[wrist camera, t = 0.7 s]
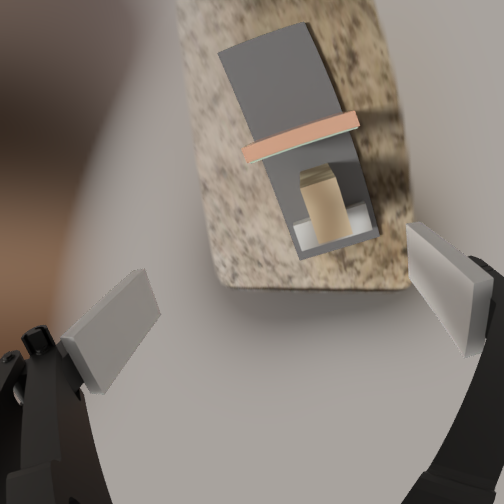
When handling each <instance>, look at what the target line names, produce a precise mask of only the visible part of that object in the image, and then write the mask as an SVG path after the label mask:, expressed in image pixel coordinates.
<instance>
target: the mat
mask: <svg viewBox="0 0 504 504" xmlns="http://www.w3.org/2000/svg"><path fill="white" fill-rule="evenodd" d="M218 56H219V58H220V60H221V63H222V65H223V67H224V69H225V72H226V74H227V76H228V79H229V81H230V83H231V86H232V88H233V90H234V93H235V95H236V97H237V100H238V102H239V105H240V107H241V109H242V112H243V114H244V117H245V119H246V122H247V124H248V126H249V129H250V131H251V134H252V136H253V139H254V141H256V140H259V139H261V138H264V137H267V136H270V135H272V134H275V133H278V132H281V131H284V130H286V129H289V128H292V127H295V126H298V125H301V124H304V123H307V122H310V121H313V120H316V119H320V118H323V117H326V116H329V115H332V114H336V113H339V112H342V110H341V107H340V104H339V102H338V99H337V97H336V94H335V91H334V89H333V86H332V84H331V81H330V79H329V76H328V74H327V72H326V69H325V67H324V65H323V62H322V60H321V58H320V55H319V53H318V51H317V48H316V46H315V44H314V42H313V40H312V38H311V35H310V33H309V31H308V29H307V27H306V25H305V23H304V22H301V23H298V24H294V25H291V26H288V27H285V28H282V29H279V30H276V31H273V32H270V33H267V34H264V35H261V36H259V37H256V38H253V39H251V40H248V41H245V42H243V43H240V44H238V45H235V46H233V47H231V48H228V49H226V50H223V51H221V52H219V53H218ZM262 161H263V164H264V166H265V169H266V171H267V174H268V177H269V179H270V182H271V184H272V187H273V190H274V192H275V195H276V197H277V200H278V203H279V205H280V208H281V211H282V213H283V216H284V219H285V221H286V224H287V227H288V229H289V232H290V235H291V238H292V240H293V243H294V246H295V249H296V251H297V254H298V257H299V260H303V259H306V258H310V257H313V256H317V255H320V254H323V253H327V252H330V251H333V250H337V249H340V248H343V247H347V246H350V245H353V244H356V243H360V242H363V241H366V240H370V239H373V238H376V237H379V236H380V235H379V231H378V227H377V223H376V219H375V215H374V211H373V207H372V204H371V200H370V196H369V193H368V189H367V186H366V182H365V179H364V176H363V172H362V169H361V166H360V163H359V159H358V156H357V153H356V150H355V147H354V144H353V141H352V138H351V135H350V132H349V131H347V132H343V133H340V134H337V135H334V136H330V137H327V138H324V139H321V140H318V141H315V142H312V143H309V144H306V145H302V146H299V147H297V148H294V149H291V150H288V151H285V152H282V153H279V154H276V155H273V156H270V157H268V158H265V159H262ZM326 163H328V165H329V167H330V168H331V170H332V172H333V173H334V175H335V177H336V180H337V183H338V186H339V189H340V192H341V195H342V199H343V202H344V205H345V206H348V205H351V204H354V203H357V202H361V201H364V202H365V203H366V206H367V210H368V214H369V217H370V221H371V225H372V229H373V230H370V231H367V232H364V233H361V234H357V235H354V236H351V237H348V238H344V239H341V240H338V241H334V242H331V243H328V244H324V245H321V246H318V247H315V248H311V249H308V250H305V251H302V250H301V247H300V244H299V241H298V239H297V236H296V233H295V230H294V228H293V222H296V221H300V220H303V219H306V218H309V217H310V216H309V213H308V210H307V207H306V204H305V202H304V199H303V196H302V193H301V190H300V172H301V171H304V170H307V169H310V168H313V167H316V166H319V165H322V164H326Z"/></svg>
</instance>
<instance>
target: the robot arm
mask: <svg viewBox="0 0 504 504" xmlns="http://www.w3.org/2000/svg"><path fill="white" fill-rule="evenodd" d="M406 232H407V248H408V270H409V279H410V280H411V281H412V283H413V284H414V285H415V287H416V288H417V289H418V291H419V292H420V293H421V295H422V296H423V298H424V299H425V300H426V302H427V303H428V305H429V306H430V308H431V309H432V310H433V312H434V313H435V315H436V316H437V318H438V319H439V321H440V322H441V324H442V325H443V327H444V328H445V329H446V331H447V333H448V334H449V335H450V337H451V339H452V340H453V341H454V343H455V345H456V346H457V348H458V349H459V351H460V353H461V354H462V356H463V357H464V358H467V357H470V356H473V355H476V354H480V353H482V354H481V357H480V360H479V363H478V365H477V368H476V371H475V373H474V376H473V379H472V381H471V384H470V386H469V389H468V391H467V393H466V396H465V398H464V400H463V403H462V405H461V407H460V409H459V412H458V414H457V416H456V418H455V420H454V422H453V424H452V427H451V428H450V430H449V433H448V434H447V436H446V438H445V440H444V442H443V444H442V446H441V447H440V449H439V451H438V453H437V455H436V457H435V458H434V460H433V462H432V463H431V465H430V467H429V468H428V470H427V471H425V472H423V473H422V474H421V476H420V477H419V479H418V480H417V481H416V483H415V484H414V486H413V487H412V489H411V490H410V491H409V493H408V494H407V496H406V497H405V499H404V500H403V502H402V503H401V504H493V502H494V500H495V496H496V492H495V491H494V490H495V486H496V484H497V481H498V479H499V476H500V473H501V471H502V468H503V466H504V277H503V276H502V275H500V274H499V273H498V272H497V271H496V270H494V269H493V268H492V267H491V266H488V264H487V263H485V262H484V261H483V260H481V259H479V258H476V257H473V256H468V257H467V256H466V255H464V254H463V253H462V252H461V251H460V250H458V249H457V248H456V247H454V246H453V245H452V244H450V243H449V242H448V241H446V240H445V239H444V238H442V237H441V236H440V235H438V234H437V233H436V232H434V231H433V230H432V229H430V228H429V227H427V226H426V225H425V224H423V223H422V222H414V223H408V224H406ZM160 315H161V313H160V310H159V307H158V305H157V302H156V299H155V297H154V294H153V291H152V288H151V285H150V283H149V279H148V277H147V274H146V271H145V269H141V270H134V271H132V272H131V273H130V274H129V275H128V276H126V277H125V278H124V279H123V280H122V281H121V282H120V283H119V284H117V285H116V286H115V287H114V288H113V289H112V290H111V291H110V292H108V293H107V294H106V295H105V296H104V297H103V298H102V299H101V300H99V302H97V303H96V304H95V305H94V306H93V307H92V308H91V309H90V310H89V311H88V312H87V313H85V314H84V315H83V316H82V317H81V318H80V319H79V320H78V321H77V322H76V323H75V324H74V325H73V326H72V327H70V328H69V329H68V330H67V331H66V332H65V333H64V334H63V335H62V336H61V337H60V339H61V341H60V342H59V343H58V344H57V345H55V342H54V340H53V338H52V336H51V334H50V332H49V330H48V328H47V326H46V325H40V326H37V327H34V328H32V329H30V330H29V331H27V332H26V333H25V334H24V335H23V336H22V338H21V339H22V341H23V343H24V345H25V347H26V349H27V351H28V353H29V355H30V359H27V360H24V359H23V357H22V355H21V353H20V351H18V350H15V351H11V352H10V351H9V352H7V353H6V354H4V355H3V357H2V358H1V359H0V504H113V503H112V501H111V498H110V495H109V492H108V489H107V486H106V482H105V479H104V476H103V473H102V469H101V466H100V462H99V459H98V455H97V452H96V447H95V444H94V439H93V435H92V431H91V427H90V423H89V417H88V413H87V408H86V403H85V398H84V394H83V392H82V391H81V389H80V387H81V385H82V384H83V383H85V385H86V386H87V388H88V390H89V391H90V393H92V394H102V395H104V394H105V393H106V392H107V390H108V389H109V387H110V386H111V384H112V383H113V381H114V380H115V379H116V377H117V376H118V374H119V373H120V371H121V370H122V368H123V367H124V366H125V364H126V363H127V361H128V360H129V359H130V357H131V356H132V354H133V353H134V352H135V350H136V349H137V347H138V346H139V345H140V343H141V342H142V340H143V339H144V338H145V336H146V335H147V333H148V332H149V331H150V329H151V328H152V326H153V325H154V324H155V322H156V321H157V320H158V318H159V317H160ZM485 338H486V342H485ZM484 343H485V345H484ZM13 391H14V392H15V393H16V395H17V397H18V398H19V400H20V401H21V403H20V405H19V403H18V402H17V400H16V399H15V397H14V393H13Z"/></svg>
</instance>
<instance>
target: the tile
mask: <svg viewBox="0 0 504 504" xmlns="http://www.w3.org/2000/svg"><path fill="white" fill-rule="evenodd" d="M357 126H360V124H359V121H358V118H357V115H356V112H355V111H346V112H339V113H336V114H332V115H329V116H326V117H323V118H320V119H316V120H313V121H310V122H307V123H304V124H301V125H298V126H295V127H292V128H289V129H286V130H284V131H281V132H278V133H275V134H272V135H270V136H267V137H264V138H261V139H259V140H256V141H254V142H252V143H251V144H249V145H247V146H245V147H243V148H242V152H243V154H244V157H245V159H246V162H247V163H249V162H250V163H254V162H257V161H259V160H262V159H265V158H268V157H270V156H273V155H276V154H279V153H282V152H285V151H288V150H291V149H294V148H297V147H299V146H302V145H306V144H309V143H312V142H315V141H318V140H321V139H324V138H327V137H330V136H334V135H337V134H340V133H343V132H347V131H350V130H353V129H357V128H358V127H357Z"/></svg>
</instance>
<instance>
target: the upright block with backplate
mask: <svg viewBox="0 0 504 504" xmlns="http://www.w3.org/2000/svg"><path fill="white" fill-rule="evenodd" d="M300 190H301V193H302V196H303V199H304V202H305V204H306V207H307V210H308V213H309V216H310V217H309V218H306V219H303V220H300V221H296V222H293V228H294V230H295V233H296V236H297V239H298V241H299V244H300V247H301V250H302V251H305V250H308V249H311V248H315V247H318V246H321V245H324V244H328V243H331V242H334V241H338V240H341V239H344V238H348V237H351V236H354V235H357V234H361V233H364V232H367V231H370V230H373V229H372V225H371V221H370V217H369V214H368V210H367V206H366V203H365V202H364V201H361V202H357V203H354V204H351V205H348V206H345V205H344V202H343V199H342V195H341V192H340V189H339V186H338V183H337V180H336V177H335V175H334V173H333V172H332V170H331V168H330V167H329V165H328V163H326V164H322V165H319V166H316V167H313V168H310V169H307V170H304V171H301V172H300Z"/></svg>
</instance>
